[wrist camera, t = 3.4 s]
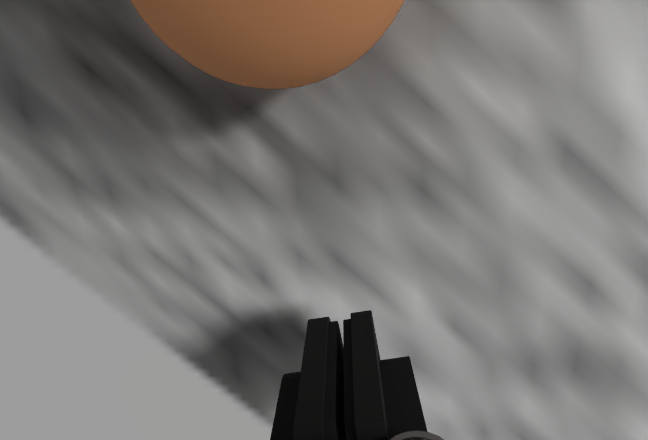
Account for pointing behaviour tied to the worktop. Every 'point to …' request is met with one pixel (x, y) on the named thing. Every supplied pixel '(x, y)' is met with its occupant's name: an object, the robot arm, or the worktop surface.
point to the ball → (269, 36)
